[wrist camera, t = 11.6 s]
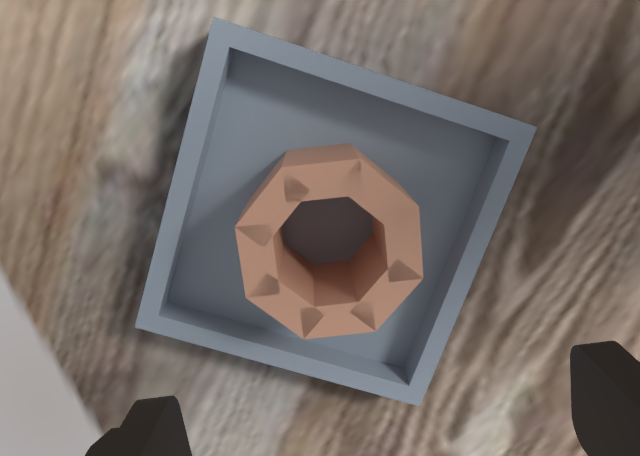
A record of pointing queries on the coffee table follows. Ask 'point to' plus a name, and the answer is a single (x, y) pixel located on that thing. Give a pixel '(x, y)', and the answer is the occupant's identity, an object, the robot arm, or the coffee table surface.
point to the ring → (336, 277)
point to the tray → (324, 205)
